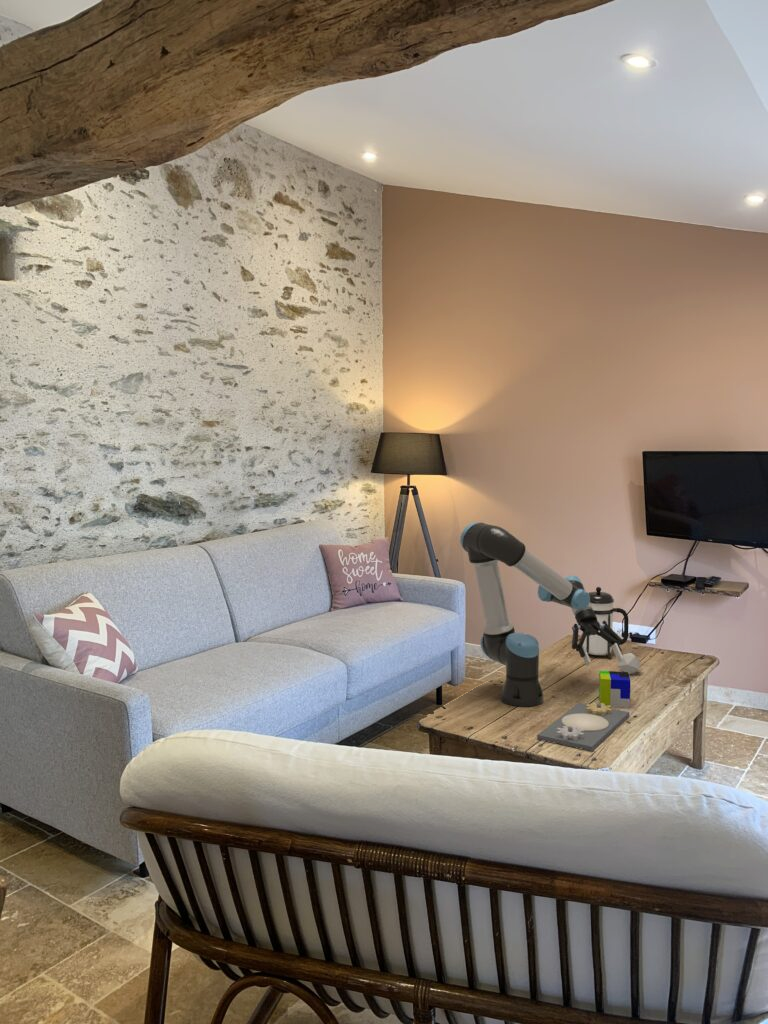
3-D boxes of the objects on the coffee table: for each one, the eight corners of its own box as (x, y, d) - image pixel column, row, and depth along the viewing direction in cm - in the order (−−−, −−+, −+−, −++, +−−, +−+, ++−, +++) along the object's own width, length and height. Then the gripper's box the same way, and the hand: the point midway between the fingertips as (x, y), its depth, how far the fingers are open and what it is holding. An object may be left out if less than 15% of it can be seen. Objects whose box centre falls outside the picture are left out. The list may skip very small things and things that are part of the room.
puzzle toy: (629, 708, 288) (630, 680, 287) (600, 706, 290) (601, 679, 289) (627, 698, 298) (627, 672, 297) (599, 697, 300) (599, 670, 299)
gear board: (591, 751, 250) (592, 738, 250) (537, 739, 260) (537, 726, 260) (629, 716, 280) (629, 704, 279) (578, 706, 290) (579, 695, 289)
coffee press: (598, 662, 342) (599, 592, 339) (572, 653, 356) (573, 585, 353) (628, 656, 350) (630, 587, 347) (602, 648, 364) (603, 581, 361)
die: (629, 670, 334) (615, 652, 333) (647, 663, 328) (633, 645, 327) (625, 682, 327) (611, 664, 326) (643, 675, 322) (629, 657, 321)
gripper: (608, 615, 320) (629, 663, 308) (551, 621, 313) (571, 670, 300) (616, 605, 314) (638, 653, 302) (558, 610, 307) (579, 660, 295)
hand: (605, 662), depth 301 cm, fingers open, 13 cm apart
